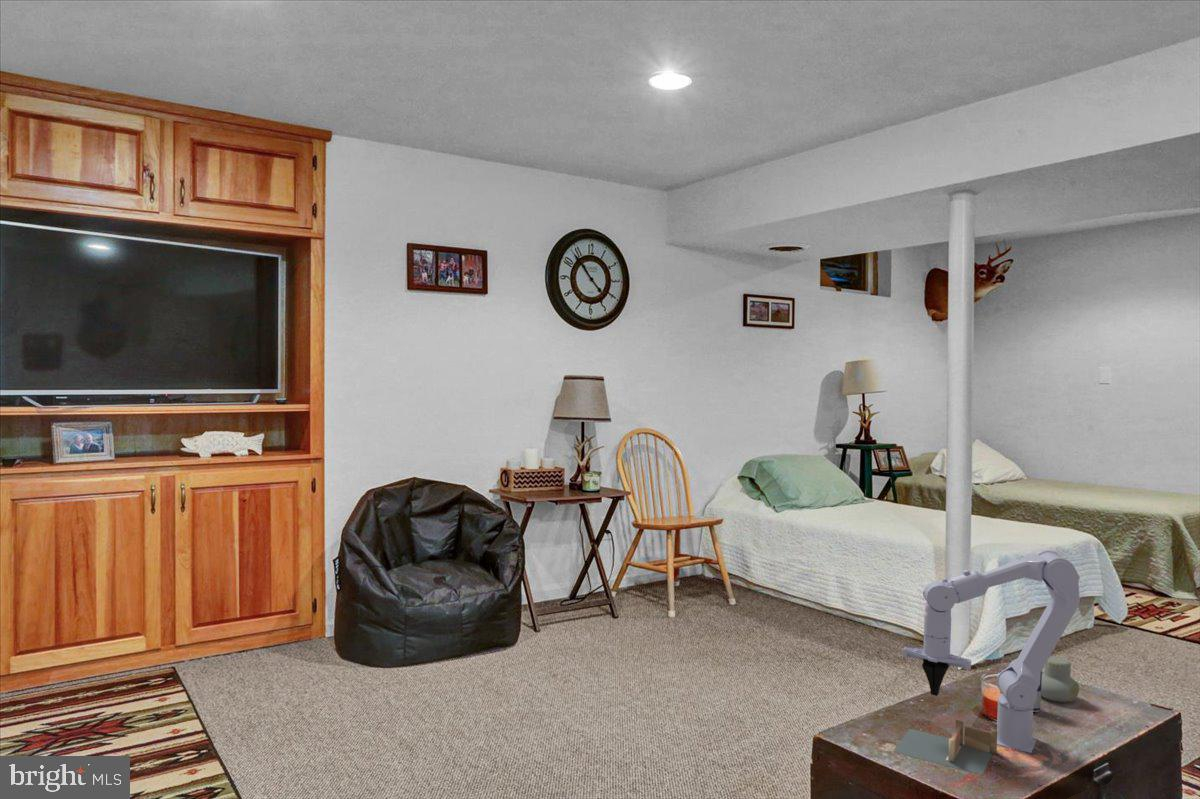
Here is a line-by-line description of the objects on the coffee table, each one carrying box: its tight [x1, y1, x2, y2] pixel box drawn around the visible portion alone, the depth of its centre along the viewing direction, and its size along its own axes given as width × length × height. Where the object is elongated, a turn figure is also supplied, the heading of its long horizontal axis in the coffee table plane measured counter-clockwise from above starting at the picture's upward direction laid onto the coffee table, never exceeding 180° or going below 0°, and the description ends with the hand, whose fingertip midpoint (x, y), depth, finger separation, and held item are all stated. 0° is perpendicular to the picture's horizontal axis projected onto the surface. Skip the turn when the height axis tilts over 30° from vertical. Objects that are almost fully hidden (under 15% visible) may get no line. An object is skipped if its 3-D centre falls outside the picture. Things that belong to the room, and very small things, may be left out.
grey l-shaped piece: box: [1041, 656, 1080, 703], centre depth 219 cm, size 11×8×10 cm
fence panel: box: [948, 727, 961, 761], centre depth 183 cm, size 10×1×4 cm, turn 149°
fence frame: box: [954, 719, 998, 755], centre depth 186 cm, size 2×8×5 cm, turn 57°
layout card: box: [892, 728, 993, 776], centre depth 185 cm, size 15×18×1 cm
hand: (934, 693), depth 194 cm, fingers closed
